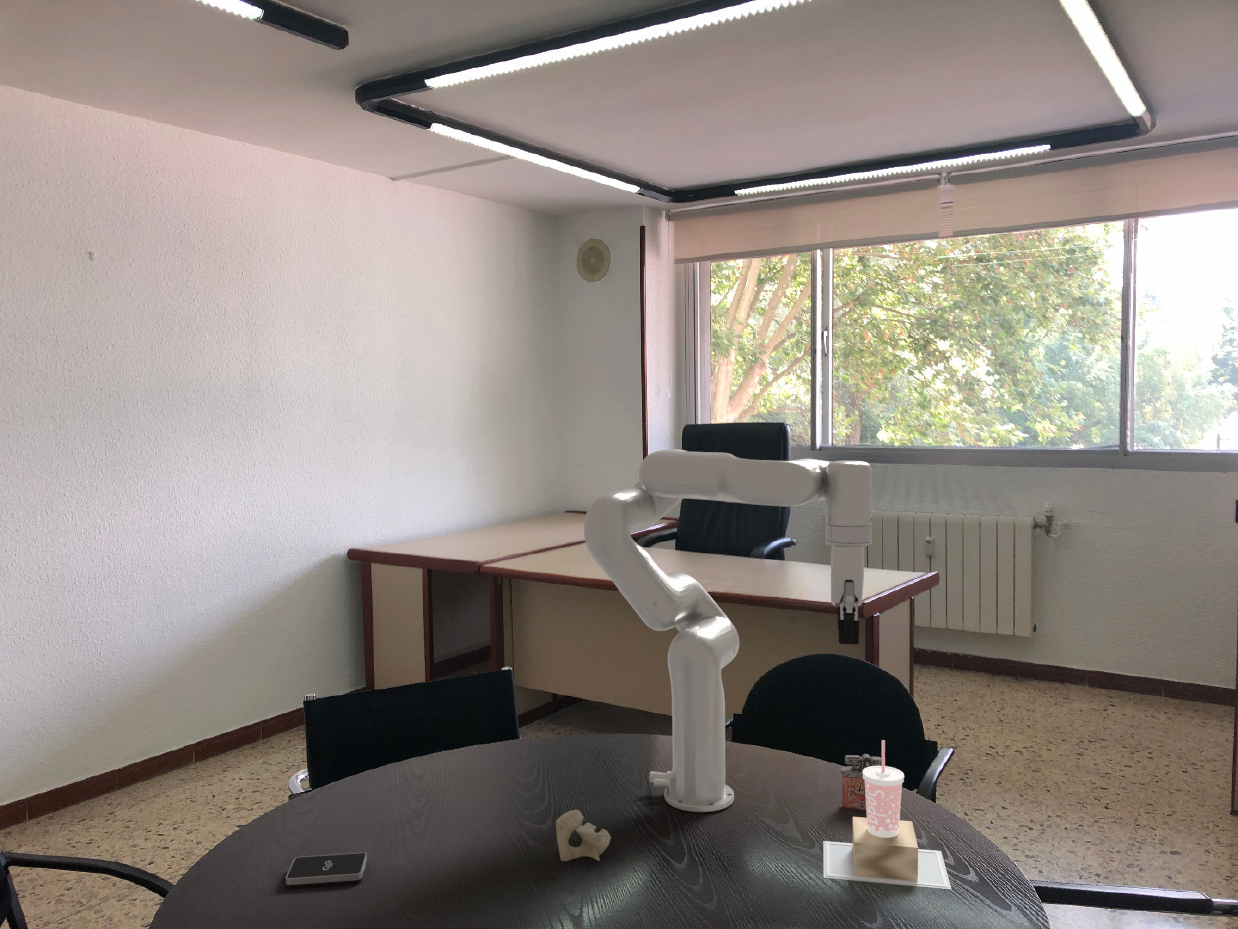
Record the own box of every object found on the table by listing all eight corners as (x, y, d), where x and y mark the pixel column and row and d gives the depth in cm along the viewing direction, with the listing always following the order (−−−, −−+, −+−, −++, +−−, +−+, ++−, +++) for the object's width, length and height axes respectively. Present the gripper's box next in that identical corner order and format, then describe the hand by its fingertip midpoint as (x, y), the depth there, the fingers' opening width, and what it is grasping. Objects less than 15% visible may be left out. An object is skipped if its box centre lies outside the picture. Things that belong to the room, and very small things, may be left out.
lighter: (886, 808, 164) (886, 752, 163) (889, 816, 161) (889, 759, 160) (839, 807, 165) (839, 751, 164) (842, 815, 161) (842, 758, 161)
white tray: (823, 884, 138) (823, 876, 138) (823, 847, 149) (823, 840, 149) (951, 896, 134) (951, 888, 134) (941, 857, 146) (941, 850, 146)
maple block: (854, 875, 138) (854, 842, 138) (852, 847, 147) (852, 816, 147) (917, 881, 136) (918, 847, 136) (912, 852, 145) (912, 821, 145)
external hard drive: (361, 886, 139) (360, 873, 139) (284, 892, 138) (283, 879, 138) (367, 864, 146) (367, 852, 146) (294, 870, 145) (294, 857, 145)
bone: (616, 833, 152) (607, 795, 146) (613, 870, 146) (605, 831, 141) (564, 835, 153) (554, 797, 147) (560, 871, 147) (549, 833, 142)
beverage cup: (853, 826, 143) (854, 737, 143) (886, 819, 146) (886, 731, 145) (879, 843, 138) (879, 750, 137) (912, 835, 140) (913, 744, 139)
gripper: (825, 528, 164) (825, 624, 165) (825, 541, 147) (825, 648, 148) (869, 529, 162) (868, 626, 163) (874, 542, 145) (873, 650, 146)
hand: (848, 636), depth 156 cm, fingers open, 9 cm apart
